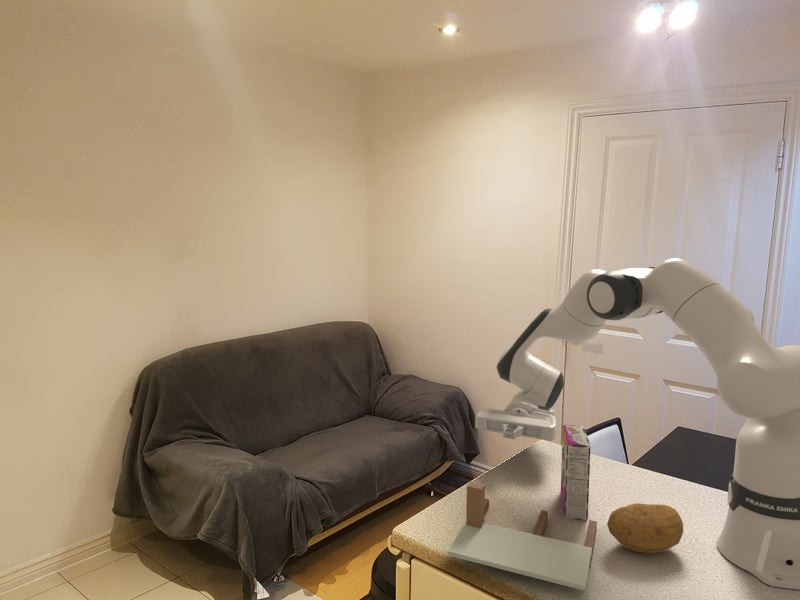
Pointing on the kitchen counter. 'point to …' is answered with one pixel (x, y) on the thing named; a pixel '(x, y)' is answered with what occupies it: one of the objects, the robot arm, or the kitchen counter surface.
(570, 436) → the candy bar box
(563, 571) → the lid
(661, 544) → the potato
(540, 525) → the frame
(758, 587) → the kitchen counter surface
